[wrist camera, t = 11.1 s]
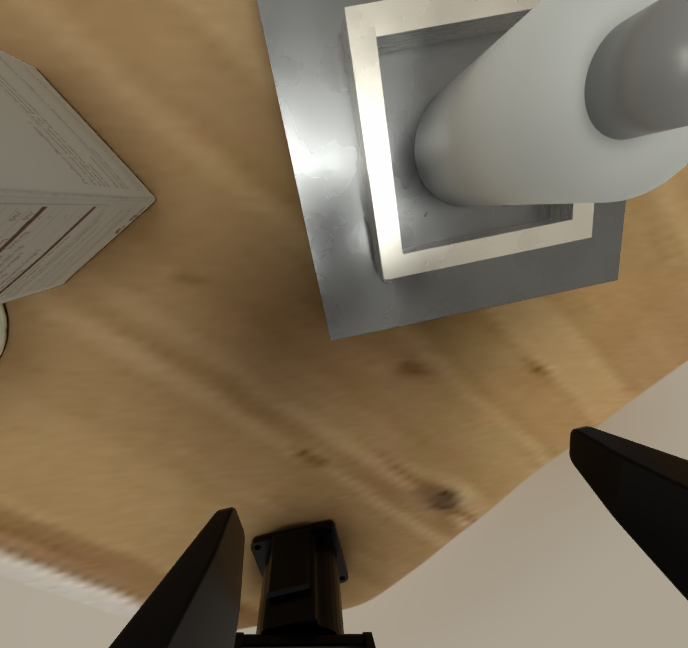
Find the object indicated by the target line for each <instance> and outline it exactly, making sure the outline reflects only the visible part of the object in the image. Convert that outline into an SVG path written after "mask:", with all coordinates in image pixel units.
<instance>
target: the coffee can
mask: <svg viewBox="0 0 688 648" xmlns="http://www.w3.org/2000/svg"><path fill="white" fill-rule="evenodd" d="M6 337H7V316H6V313H5V309H4V305H3V303H2V304H0V355H1V354H2V352H3V349H4V346H5V342H6Z"/></svg>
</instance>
